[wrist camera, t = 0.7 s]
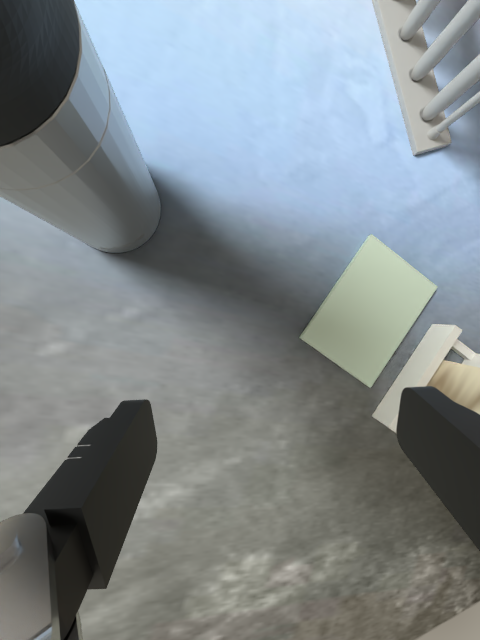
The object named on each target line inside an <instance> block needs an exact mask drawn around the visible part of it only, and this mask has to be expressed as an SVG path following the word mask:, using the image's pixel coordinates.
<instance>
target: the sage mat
mask: <svg viewBox="0 0 480 640" xmlns="http://www.w3.org/2000/svg"><path fill="white" fill-rule="evenodd" d="M436 289H437V286H436V285H435V284H433V283H432V282H431V281H430V280H428V279H427V278H426V277H425V276H423V275H422V274H421V273H420V272H418V271H417V270H416V269H415V268H413V267H412V266H411V265H410V264H408V263H407V262H406V261H405V260H403V259H402V258H401V257H400V256H398V255H397V254H396V253H395V252H393V251H392V250H391V249H390V248H388V247H387V246H386V245H385V244H383V243H382V242H381V241H380V240H378V239H377V238H376V237H375V236H373V235H372V234H371V235H369V236H368V237H367V239H366V240H365V241H364V243H363V244H362V246H361V247H360V249H359V250H358V252H357V253H356V255H355V256H354V258H353V259H352V261H351V262H350V263H349V265H348V266H347V268H346V269H345V271H344V272H343V274H342V275H341V277H340V278H339V280H338V281H337V283H336V284H335V285H334V287H333V288H332V290H331V291H330V293H329V294H328V296H327V297H326V299H325V300H324V302H323V303H322V305H321V306H320V307H319V309H318V310H317V312H316V313H315V315H314V316H313V318H312V319H311V321H310V322H309V324H308V325H307V327H306V328H305V329H304V331H303V332H302V334H301V335H300V337H299V338H300V339H301V340H303V341H304V342H306V343H307V344H309V345H310V346H311V347H313V348H314V349H316V350H317V351H318V352H320V353H321V354H323V355H324V356H325V357H327V358H328V359H330V360H331V361H332V362H334V363H335V364H337V365H338V366H339V367H341V368H342V369H344V370H345V371H346V372H348V373H349V374H351V375H352V376H353V377H355V378H356V379H358V380H359V381H360V382H362V383H363V384H365V385H366V386H367V387H369V388H371V387H372V385H373V384H374V382H375V381H376V379H377V378H378V376H379V375H380V373H381V372H382V370H383V369H384V367H385V365H386V364H387V362H388V361H389V359H390V358H391V356H392V355H393V353H394V352H395V350H396V349H397V347H398V346H399V344H400V343H401V341H402V340H403V338H404V337H405V335H406V334H407V332H408V331H409V329H410V328H411V326H412V325H413V323H414V322H415V320H416V319H417V317H418V316H419V314H420V313H421V311H422V310H423V308H424V307H425V305H426V304H427V302H428V301H429V299H430V298H431V296H432V295H433V293H434V292H435V290H436Z"/></svg>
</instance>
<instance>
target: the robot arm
mask: <svg viewBox="0 0 480 640" xmlns="http://www.w3.org/2000/svg"><path fill="white" fill-rule="evenodd" d="M0 197H2V198H4V199H6V200H8V201H9V202H11V203H13V204H15V205H17V206H19V207H20V208H22V209H24V210H26V211H28V212H29V213H31V214H33V215H35V216H37V217H38V218H40V219H42V220H44V221H46V222H48V223H49V224H51V225H53V226H55V227H57V228H58V229H60V230H62V231H64V232H66V233H67V234H69V235H71V236H73V237H75V238H76V239H78V240H80V241H82V242H84V243H85V244H87V245H89V246H91V247H93V248H96V249H98V250H100V251H104V252H109V253H123V252H127V251H131V250H134V249H136V248H138V247H140V246H141V245H143V244H144V243H145V242H147V241H148V240H149V239H150V237H151V236H152V235H153V234H154V232H155V230H156V228H157V226H158V224H159V220H160V216H161V204H160V198H159V195H158V192H157V190H156V187H155V185H154V183H153V180H152V178H151V176H150V173H149V171H148V168H147V166H146V164H145V162H144V159H143V157H142V155H141V152H140V150H139V148H138V145H137V143H136V141H135V139H134V136H133V134H132V132H131V129H130V127H129V125H128V122H127V120H126V118H125V116H124V113H123V111H122V109H121V106H120V104H119V102H118V99H117V97H116V95H115V93H114V90H113V88H112V86H111V83H110V81H109V79H108V76H107V74H106V72H105V70H104V68H103V65H102V63H101V61H100V59H99V57H98V54H97V52H96V50H95V47H94V45H93V43H92V41H91V38H90V36H89V34H88V31H87V29H86V27H85V24H84V22H83V20H82V18H81V15H80V13H79V11H78V8H77V6H76V4H75V2H74V0H0ZM396 433H397V438H398V442H399V444H400V446H401V448H402V450H403V451H404V453H405V454H406V455H407V457H408V458H409V459H410V461H411V462H412V463H413V465H414V466H415V467H416V468H417V470H418V471H419V472H420V474H421V475H422V476H423V478H424V479H425V480H426V481H427V483H428V484H429V485H430V487H431V488H432V489H433V491H434V492H435V493H436V495H437V496H438V497H439V498H440V500H441V501H442V502H443V504H444V505H445V506H446V508H447V509H448V510H449V511H450V513H451V514H452V515H453V517H454V518H455V519H456V521H457V522H458V523H459V525H460V526H461V527H462V528H463V530H464V531H465V532H466V534H467V535H468V536H469V538H470V539H471V540H472V541H473V543H474V544H475V545H476V547H477V548H478V549H479V551H480V415H479V414H478V413H477V412H475V411H472V410H470V409H468V408H466V407H464V406H462V405H460V404H458V403H456V402H454V401H452V400H451V399H450V398H448V397H447V396H446V395H445V394H443V393H442V392H441V391H439V390H438V389H437V388H435V387H433V386H424V387H406V388H404V389H403V391H402V393H401V399H400V406H399V413H398V421H397V428H396ZM156 454H157V437H156V431H155V426H154V420H153V415H152V409H151V404H150V402H149V400H128V401H122V402H121V403H120V405H119V406H118V407H117V409H116V410H115V412H114V413H113V414H112V416H111V417H110V418H104V419H103V420H101V421H100V422H99V423H97V424H96V425H95V426H93V427H92V428H91V429H90V430H88V432H87V433H86V434H85V435H84V437H83V438H82V439H81V441H80V442H79V443H78V446H77V447H75V448H74V449H73V451H72V452H71V453H70V454H69V456H68V459H67V460H65V461H64V462H63V463H62V465H61V466H60V467H59V468H58V470H57V471H56V472H55V474H54V475H53V476H52V477H51V479H50V480H49V481H48V482H47V484H46V485H45V486H44V488H43V489H42V490H41V491H40V493H39V494H38V495H37V496H36V498H35V499H34V500H33V502H32V503H31V504H30V505H29V507H28V508H27V509H26V510H25V512H24V513H23V514H20V515H16V516H13V517H10V518H8V519H5V520H3V521H1V522H0V640H83V637H82V629H81V622H80V616H79V612H78V610H79V607H80V605H81V603H82V600H83V598H84V596H85V593H86V591H87V589H106V588H107V585H108V583H109V580H110V577H111V575H112V572H113V570H114V567H115V564H116V562H117V559H118V556H119V554H120V551H121V549H122V546H123V543H124V541H125V538H126V535H127V533H128V530H129V528H130V525H131V522H132V520H133V517H134V514H135V512H136V509H137V506H138V504H139V501H140V499H141V496H142V493H143V491H144V488H145V485H146V483H147V480H148V478H149V475H150V472H151V470H152V467H153V464H154V462H155V459H156Z"/></svg>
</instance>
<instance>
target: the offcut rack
mask: <svg viewBox="0 0 480 640" xmlns="http://www.w3.org/2000/svg"><path fill="white" fill-rule="evenodd" d="M461 332H462V330H461V329H460V328H459V327H457V326H456V325H443V324H432V325H431V327H430V328H429V330H428V331H427V333H426V334H425V336H424V337H423V339H422V340H421V342H420V343H419V345H418V346H417V348H416V349H415V351H414V352H413V354H412V355H411V357H410V358H409V360H408V362H407V363H406V365H405V366H404V368H403V369H402V371H401V372H400V374H399V375H398V377H397V378H396V380H395V381H394V383H393V384H392V386H391V387H390V389H389V390H388V392H387V393H386V395H385V396H384V398H383V399H382V401H381V402H380V404H379V405H378V407H377V408H376V410H375V412H374V413H373V415H372V417H374V418H375V419H376V420H378V421H379V422H381V423H382V424H384V425H385V426H386V427H388V428H389V429H391V430H392V431H394V432H395V433H396V428H397V421H398V413H399V406H400V399H401V393H402V391H403V389H404V388H406V387H424V386H426V385H427V384H428V382H429V381H430V379H431V378H432V376H433V375H434V373H435V372H436V370H437V369H438V367H439V366H440V364H441V362H442V361H443V359H444V358H445V356H446V355H447V353H448V352H449V350H450V349H452V350H453V351H455V352H456V353H457V354H458V355H460V356H461V357H462V358H464V361H463V362H462V364H465V365H469V366H474V367H479V368H480V354H477V353H474V352H473V351H472V350H471V349H469V348H468V347H467V346H465V345H464V344H463V343H462V342H460V341H459V340H458V339H457V338H458V337H459V335H460V333H461ZM396 434H397V433H396Z"/></svg>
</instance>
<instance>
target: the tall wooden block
mask: <svg viewBox="0 0 480 640" xmlns="http://www.w3.org/2000/svg"><path fill="white" fill-rule="evenodd" d="M426 386H433V387H435V388H437V389H438V390H439V391H441V392H442V393H443V394H445V395H446V396H447V397H448V398H450V399H451V400H452V401H454V402H456V403H458V404H460V405H462V406H464V407H466V408H468V409H470V410H472V411H475V412H477V413H478V414H479V415H480V368H479V367H474V366H469V365H465V364H460V363H455V362H450V361H445V360H443V361H442V362H441V364H440V366H439V367H438V369H437V370H436V372H435V373H434V375H433V376H432V378H431V379H430V381H429V382H428V384H427V385H426Z"/></svg>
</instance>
